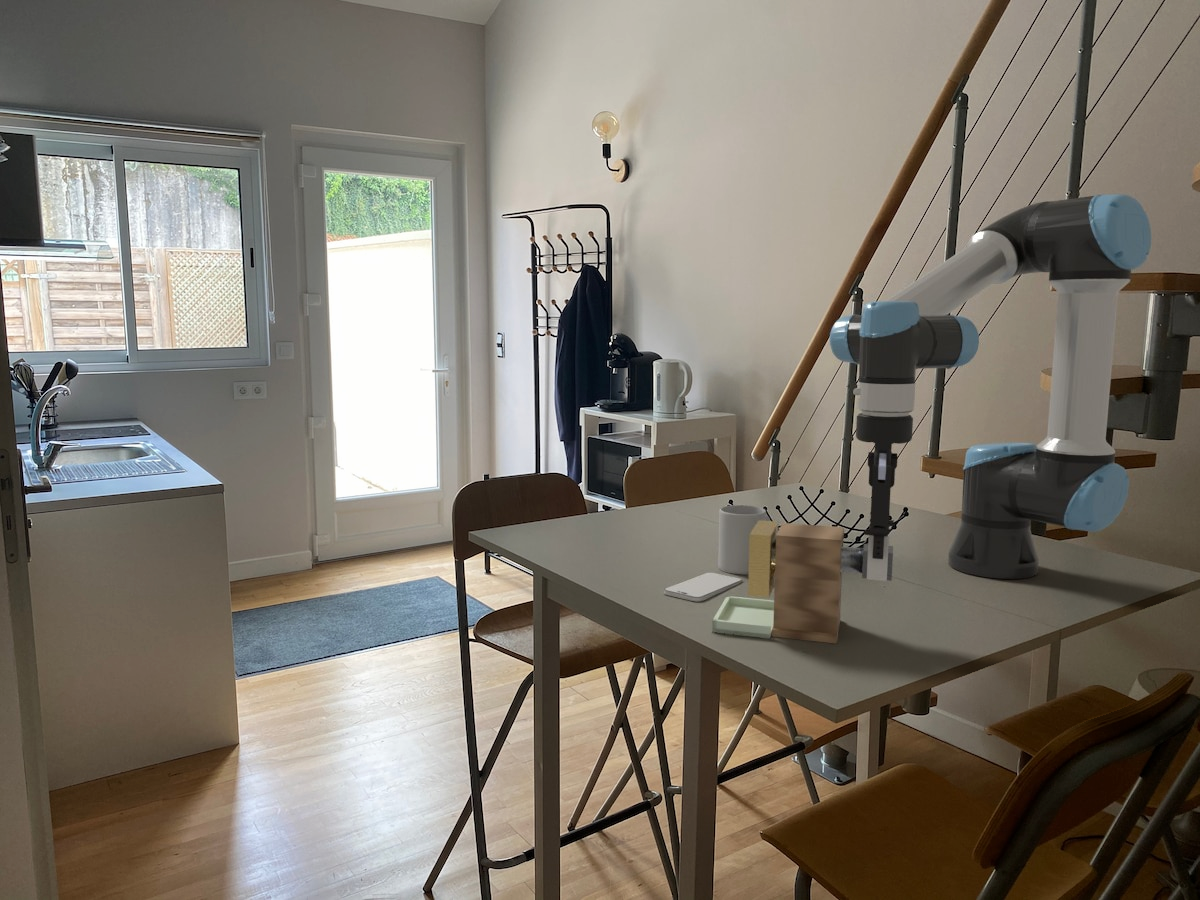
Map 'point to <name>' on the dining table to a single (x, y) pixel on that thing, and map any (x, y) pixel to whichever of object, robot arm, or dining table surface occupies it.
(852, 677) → the dining table surface
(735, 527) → the mug
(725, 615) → the green tray
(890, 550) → the steel shaft
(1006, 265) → the robot arm
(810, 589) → the walnut housing
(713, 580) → the smartphone
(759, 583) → the yellow square block
